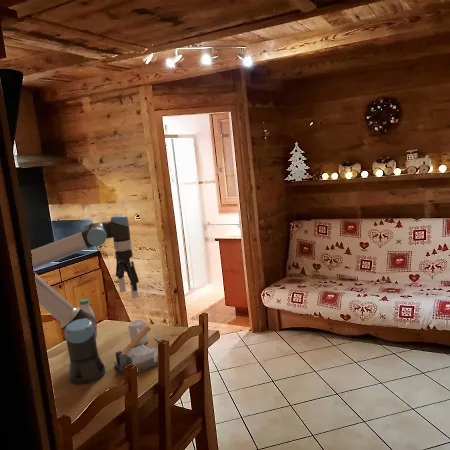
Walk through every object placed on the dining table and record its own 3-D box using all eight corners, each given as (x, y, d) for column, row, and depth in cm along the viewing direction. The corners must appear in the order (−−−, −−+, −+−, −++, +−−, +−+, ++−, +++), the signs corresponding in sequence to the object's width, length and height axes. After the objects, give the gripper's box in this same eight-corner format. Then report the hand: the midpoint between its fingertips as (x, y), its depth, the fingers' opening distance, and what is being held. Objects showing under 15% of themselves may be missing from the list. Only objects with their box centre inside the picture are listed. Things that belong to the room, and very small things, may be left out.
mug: (149, 346, 214) (146, 326, 213) (131, 350, 213) (128, 330, 211) (147, 337, 226) (144, 318, 224) (130, 341, 224) (127, 321, 223)
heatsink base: (126, 377, 186) (123, 359, 185) (114, 366, 198) (111, 349, 197) (170, 360, 197) (167, 342, 196) (156, 350, 209) (154, 334, 208)
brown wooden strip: (121, 359, 190) (120, 358, 190) (119, 357, 193) (117, 355, 193) (151, 329, 197) (150, 327, 197) (148, 327, 200) (146, 325, 199)
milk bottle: (79, 339, 234) (73, 302, 231) (88, 333, 242) (81, 297, 238) (92, 339, 232) (86, 302, 229) (100, 333, 239) (94, 297, 236)
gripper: (142, 251, 195) (148, 298, 198) (120, 244, 215) (125, 287, 218) (126, 254, 190) (132, 302, 194) (105, 247, 211) (110, 291, 214)
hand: (128, 294), depth 206 cm, fingers open, 13 cm apart
